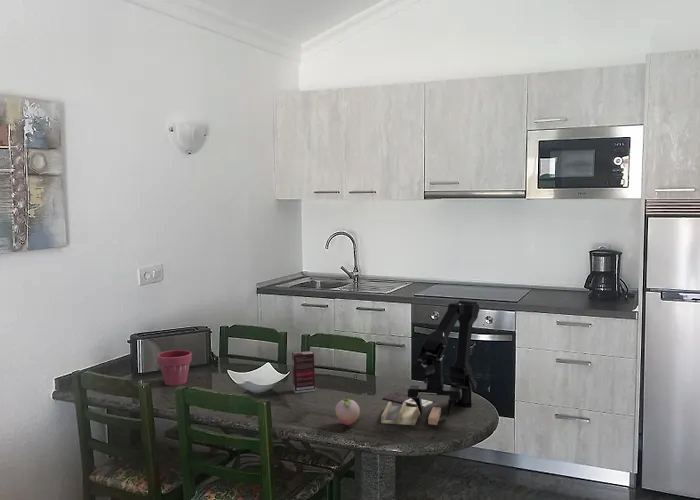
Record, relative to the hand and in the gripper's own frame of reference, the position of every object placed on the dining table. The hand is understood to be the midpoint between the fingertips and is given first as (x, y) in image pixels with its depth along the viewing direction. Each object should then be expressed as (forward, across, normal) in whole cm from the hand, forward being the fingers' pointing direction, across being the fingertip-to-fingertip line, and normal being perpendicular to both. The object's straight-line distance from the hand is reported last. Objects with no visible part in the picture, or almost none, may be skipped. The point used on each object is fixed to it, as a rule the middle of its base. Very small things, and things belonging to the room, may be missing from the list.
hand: (434, 415), depth 241 cm
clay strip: (+1, 0, 0) cm, 1 cm away
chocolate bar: (+2, +12, -18) cm, 22 cm away
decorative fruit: (+1, +29, +12) cm, 31 cm away
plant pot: (+1, +114, -24) cm, 117 cm away
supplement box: (+1, +56, -23) cm, 61 cm away
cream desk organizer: (+1, +12, 0) cm, 12 cm away
